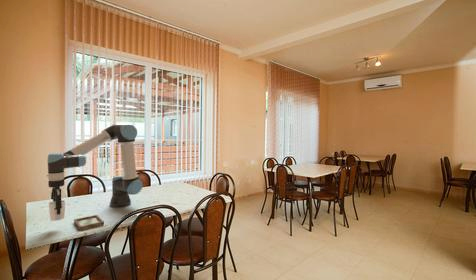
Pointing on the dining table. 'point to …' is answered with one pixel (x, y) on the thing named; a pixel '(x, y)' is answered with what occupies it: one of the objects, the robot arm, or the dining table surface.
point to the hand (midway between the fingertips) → (57, 217)
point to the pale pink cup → (52, 211)
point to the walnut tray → (88, 222)
